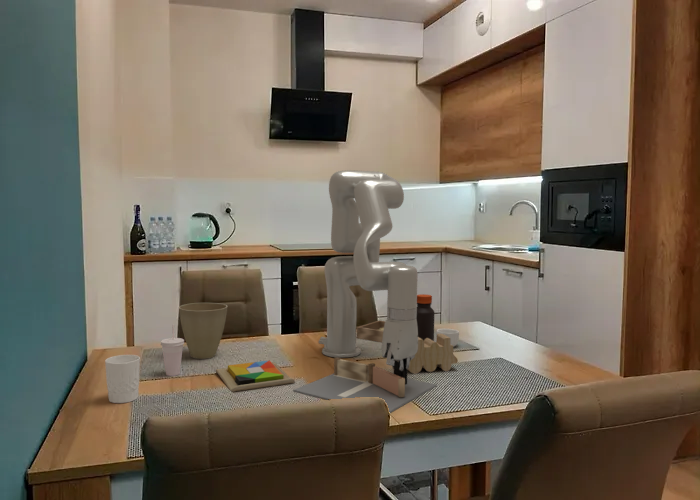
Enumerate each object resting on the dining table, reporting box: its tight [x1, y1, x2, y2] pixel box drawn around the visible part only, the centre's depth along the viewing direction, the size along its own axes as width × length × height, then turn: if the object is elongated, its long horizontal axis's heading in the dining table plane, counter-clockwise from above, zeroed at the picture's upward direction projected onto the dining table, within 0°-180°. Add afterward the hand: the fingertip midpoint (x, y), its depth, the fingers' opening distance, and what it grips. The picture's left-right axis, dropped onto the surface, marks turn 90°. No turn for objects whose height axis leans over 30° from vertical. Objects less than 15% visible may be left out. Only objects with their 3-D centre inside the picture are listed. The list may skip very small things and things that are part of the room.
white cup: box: [104, 354, 141, 404], centre depth 136 cm, size 8×8×10 cm
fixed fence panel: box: [333, 357, 376, 384], centre depth 153 cm, size 13×2×5 cm, turn 55°
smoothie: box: [160, 324, 185, 377], centre depth 156 cm, size 6×6×14 cm
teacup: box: [435, 328, 460, 348], centre depth 193 cm, size 10×8×5 cm
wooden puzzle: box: [215, 359, 295, 393], centre depth 154 cm, size 18×19×4 cm
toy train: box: [407, 334, 459, 375], centre depth 163 cm, size 6×17×10 cm, turn 104°
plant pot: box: [178, 302, 228, 360], centre depth 176 cm, size 15×15×16 cm
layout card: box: [293, 373, 438, 414], centre depth 146 cm, size 28×26×1 cm
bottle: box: [416, 293, 435, 342], centre depth 176 cm, size 7×7×20 cm
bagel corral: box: [356, 319, 386, 343], centre depth 204 cm, size 16×16×4 cm
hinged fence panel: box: [373, 365, 405, 397], centre depth 143 cm, size 13×2×4 cm, turn 31°
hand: (400, 383), depth 144 cm, fingers closed
